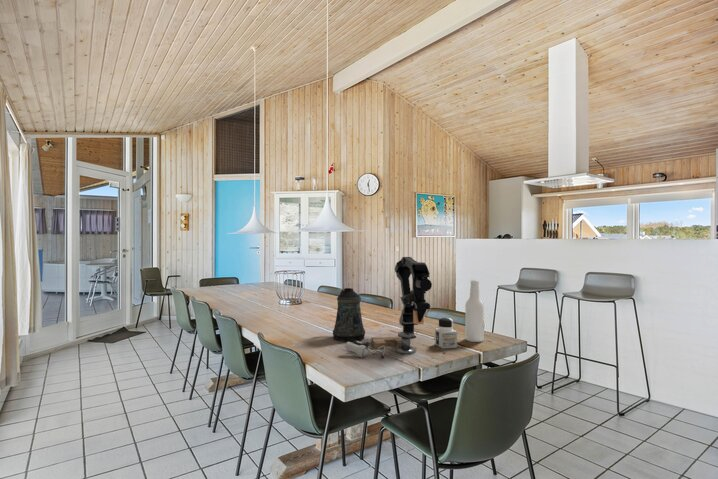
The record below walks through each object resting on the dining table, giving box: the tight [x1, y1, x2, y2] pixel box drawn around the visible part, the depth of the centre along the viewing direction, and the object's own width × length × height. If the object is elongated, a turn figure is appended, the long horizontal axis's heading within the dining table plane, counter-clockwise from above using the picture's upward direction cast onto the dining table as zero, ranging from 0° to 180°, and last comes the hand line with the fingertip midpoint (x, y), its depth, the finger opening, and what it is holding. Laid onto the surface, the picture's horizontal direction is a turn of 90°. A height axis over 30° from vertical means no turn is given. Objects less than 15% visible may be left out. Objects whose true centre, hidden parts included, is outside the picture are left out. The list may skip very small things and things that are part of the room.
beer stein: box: [332, 287, 366, 343], centre depth 203 cm, size 16×19×25 cm
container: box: [434, 317, 458, 349], centre depth 187 cm, size 8×8×13 cm
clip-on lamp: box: [344, 340, 386, 359], centre depth 172 cm, size 12×6×18 cm
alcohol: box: [464, 279, 485, 343], centre depth 199 cm, size 9×9×30 cm
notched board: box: [370, 336, 401, 350], centre depth 189 cm, size 11×16×2 cm
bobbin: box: [395, 331, 417, 355], centre depth 178 cm, size 9×9×8 cm
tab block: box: [413, 310, 425, 325], centre depth 191 cm, size 4×4×6 cm
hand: (418, 321), depth 191 cm, fingers closed on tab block, 4 cm apart
